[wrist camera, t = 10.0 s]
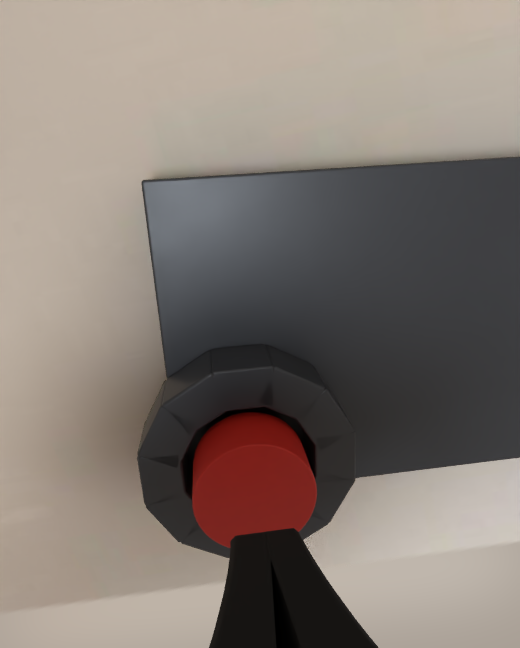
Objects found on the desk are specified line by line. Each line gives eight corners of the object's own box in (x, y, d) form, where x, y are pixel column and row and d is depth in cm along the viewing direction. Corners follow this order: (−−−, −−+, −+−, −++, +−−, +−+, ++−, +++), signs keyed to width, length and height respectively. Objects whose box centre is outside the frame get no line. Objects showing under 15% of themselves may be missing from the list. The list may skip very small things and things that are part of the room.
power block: (684, 146, 16) (831, 136, 12) (628, 430, 20) (730, 491, 16) (121, 181, 14) (92, 183, 11) (164, 486, 18) (154, 570, 14)
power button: (301, 405, 13) (315, 437, 12) (305, 500, 14) (318, 542, 13) (187, 418, 13) (185, 452, 11) (199, 514, 14) (198, 559, 12)
